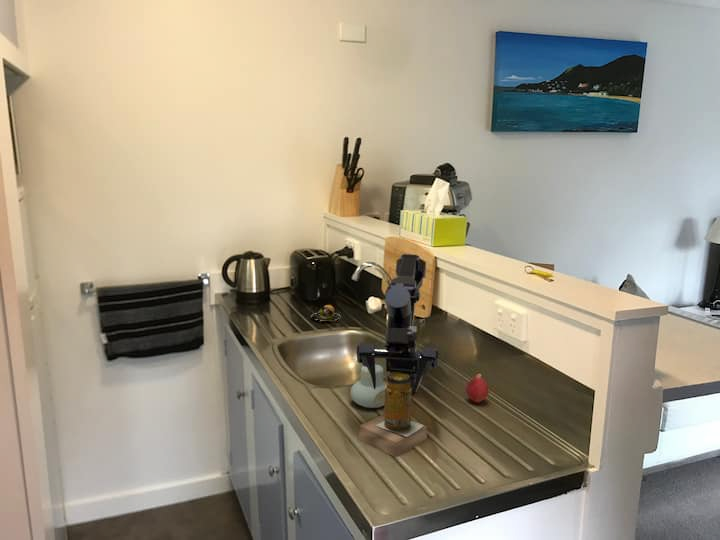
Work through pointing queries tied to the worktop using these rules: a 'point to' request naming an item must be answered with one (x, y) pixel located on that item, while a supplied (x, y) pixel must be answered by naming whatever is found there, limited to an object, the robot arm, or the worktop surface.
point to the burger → (327, 313)
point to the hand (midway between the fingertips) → (395, 390)
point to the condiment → (398, 405)
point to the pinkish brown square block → (390, 437)
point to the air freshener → (369, 389)
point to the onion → (477, 389)
